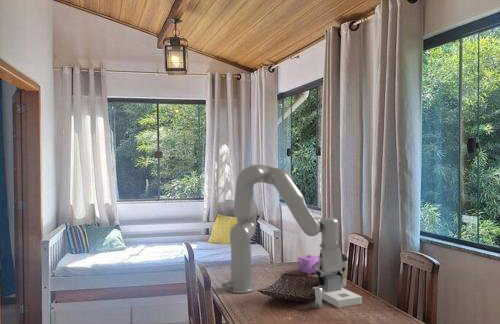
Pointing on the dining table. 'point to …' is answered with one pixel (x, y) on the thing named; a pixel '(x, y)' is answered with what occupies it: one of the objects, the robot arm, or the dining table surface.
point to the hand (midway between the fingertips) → (330, 283)
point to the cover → (331, 282)
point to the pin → (318, 297)
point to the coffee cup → (344, 275)
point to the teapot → (307, 264)
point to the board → (341, 297)
